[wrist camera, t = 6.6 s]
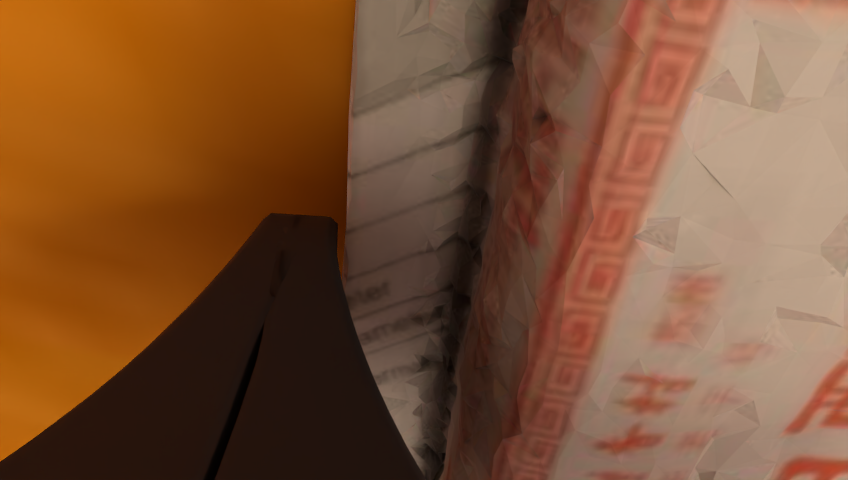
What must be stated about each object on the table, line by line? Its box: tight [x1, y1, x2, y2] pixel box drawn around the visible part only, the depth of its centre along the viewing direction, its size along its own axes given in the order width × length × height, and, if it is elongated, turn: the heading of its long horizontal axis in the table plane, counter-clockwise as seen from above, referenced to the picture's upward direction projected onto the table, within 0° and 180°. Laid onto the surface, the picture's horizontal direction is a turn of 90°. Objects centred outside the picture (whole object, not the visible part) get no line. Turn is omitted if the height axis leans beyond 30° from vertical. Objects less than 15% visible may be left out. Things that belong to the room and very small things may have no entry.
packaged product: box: [342, 0, 848, 480], centre depth 10 cm, size 18×5×10 cm
